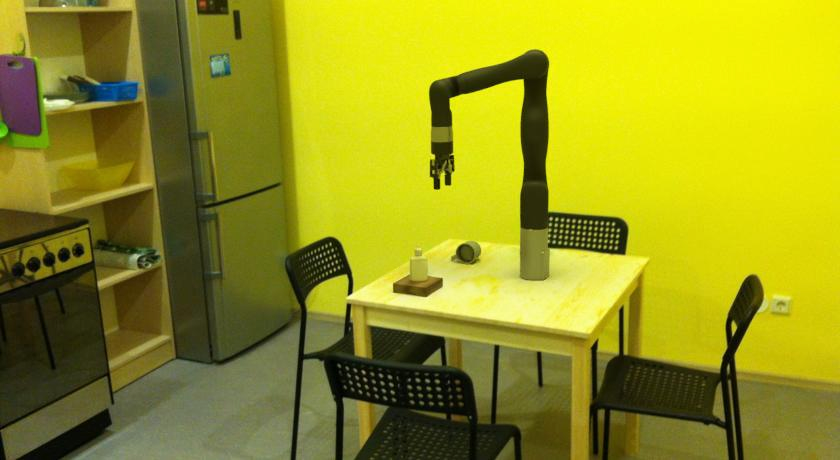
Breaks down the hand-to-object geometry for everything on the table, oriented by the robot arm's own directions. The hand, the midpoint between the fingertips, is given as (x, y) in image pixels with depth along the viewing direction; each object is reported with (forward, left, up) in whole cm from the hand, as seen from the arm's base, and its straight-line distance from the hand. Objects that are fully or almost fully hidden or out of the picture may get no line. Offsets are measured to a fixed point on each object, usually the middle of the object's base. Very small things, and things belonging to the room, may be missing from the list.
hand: (442, 187), depth 275 cm
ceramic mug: (-1, -17, -30) cm, 35 cm away
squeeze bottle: (-1, +21, -27) cm, 34 cm away
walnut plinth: (-1, +21, -30) cm, 37 cm away
